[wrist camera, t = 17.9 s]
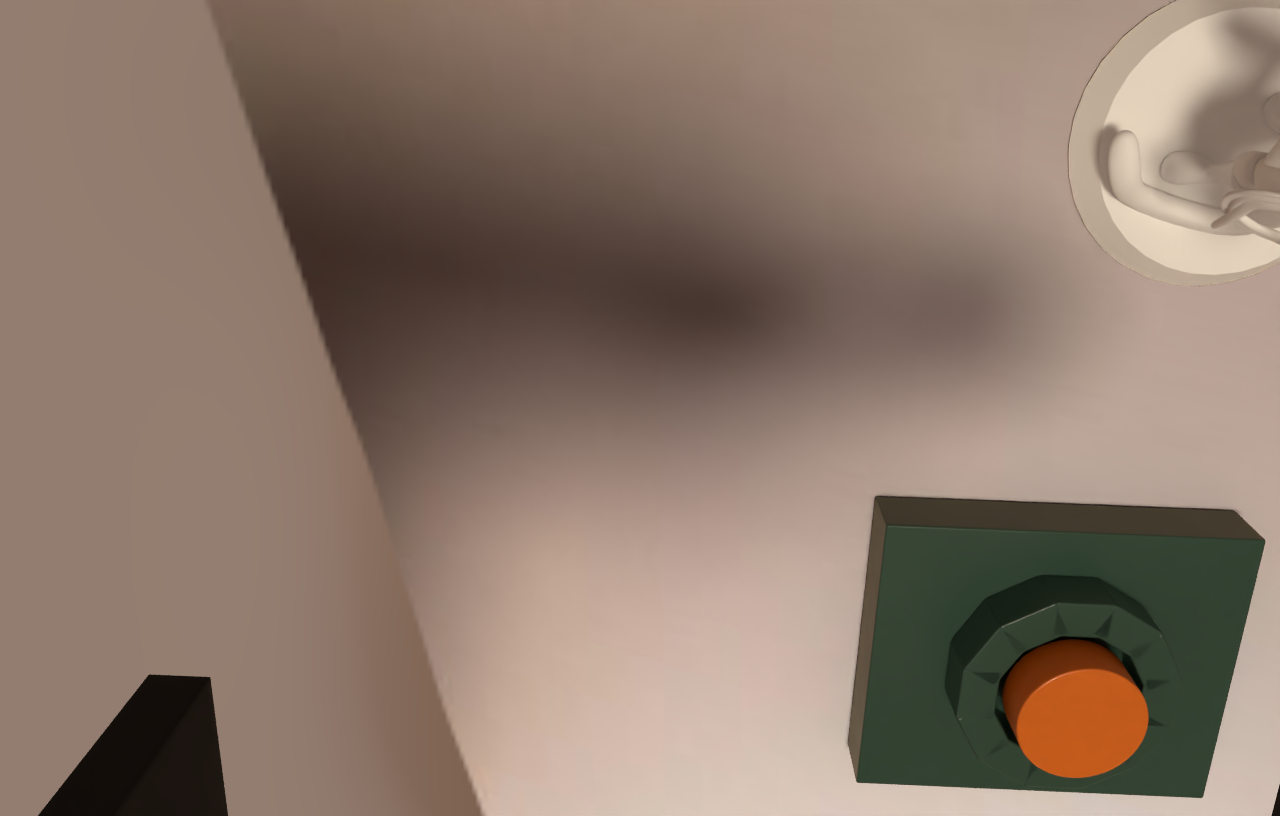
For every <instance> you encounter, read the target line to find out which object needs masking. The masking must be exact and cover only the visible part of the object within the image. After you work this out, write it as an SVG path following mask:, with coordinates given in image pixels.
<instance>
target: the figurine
mask: <svg viewBox="0 0 1280 816" xmlns="http://www.w3.org/2000/svg"><path fill="white" fill-rule="evenodd" d="M1069 179H1070V184H1071V188H1072V193H1073V198H1074V202H1075V205H1076V207H1077V209H1078V211H1079V214H1080V216H1081V218H1082V220H1083V222H1084V224H1085V227H1086V228H1087V230H1088V231H1089V232H1090V233H1091V235H1092V236H1093V237H1094V239H1095V240H1096V241H1097V243H1098V244H1099V245H1100V247H1101V248H1102V249H1103V250H1104V251H1106V252H1107V253H1108V254H1109V255H1110V256H1112V257H1113V258H1114V259H1115V260H1116V261H1118V262H1119V263H1120V264H1121V265H1123V266H1125V267H1127V268H1129V269H1131V270H1133V271H1134V272H1136V273H1138V274H1140V275H1142V276H1144V277H1147V278H1150V279H1154V280H1158V281H1161V282H1165V283H1169V284H1175V285H1190V286H1204V285H1213V284H1221V283H1228V282H1232V281H1235V280H1238V279H1241V278H1245V277H1248V276H1251V275H1255V274H1257V273H1259V272H1261V271H1263V270H1265V269H1267V268H1269V267H1271V266H1273V265H1275V264H1277V263H1279V262H1280V0H1176V1H1174V2H1172V3H1170V4H1169V5H1167V6H1165V7H1163V8H1162V9H1160V10H1158V11H1156V12H1154V13H1153V14H1151V15H1149V16H1148V17H1147V18H1145V19H1144V20H1143V21H1142V22H1140V23H1139V24H1138V25H1137V26H1136V27H1134V28H1133V29H1132V30H1131V31H1129V32H1128V33H1127V34H1126V35H1124V36H1123V37H1122V39H1121V40H1120V41H1119V42H1118V43H1117V44H1116V45H1115V47H1114V48H1113V49H1112V50H1111V51H1110V52H1109V53H1108V55H1107V56H1106V57H1105V58H1104V59H1103V60H1102V62H1101V63H1100V65H1099V67H1098V68H1097V70H1096V72H1095V73H1094V75H1093V77H1092V78H1091V80H1090V82H1089V83H1088V85H1087V86H1086V88H1085V90H1084V93H1083V96H1082V98H1081V101H1080V103H1079V106H1078V109H1077V111H1076V114H1075V116H1074V120H1073V126H1072V131H1071V136H1070V142H1069Z"/></svg>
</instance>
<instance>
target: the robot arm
mask: <svg viewBox="0 0 1280 816" xmlns="http://www.w3.org/2000/svg"><path fill="white" fill-rule="evenodd" d="M38 816H228V812H227V804H226V797H225V789H224V781H223V773H222V765H221V758H220V750H219V743H218V735H217V727H216V718H215V711H214V704H213V695H212V688H211V679H210V677H194V676H170V675H148V677H147V678H146V679H145V680H144V682H143V683H142V684H141V685H140V687H139V688H138V689H137V691H136V692H135V693H134V694H133V696H132V697H131V698H130V699H129V701H128V702H127V703H126V705H125V706H124V707H123V709H122V710H121V711H120V712H119V713H118V715H117V716H116V717H115V718H114V720H113V721H112V722H111V724H110V725H109V726H108V727H107V729H106V730H105V731H104V733H103V734H102V735H101V736H100V738H99V739H98V740H97V741H96V743H95V744H94V745H93V746H92V748H91V749H90V750H89V752H88V753H87V754H86V755H85V757H84V758H83V759H82V760H81V762H80V763H79V764H78V766H77V767H76V768H75V769H74V771H73V772H72V773H71V774H70V776H69V777H68V778H67V780H66V781H65V782H64V783H63V785H62V786H61V787H60V788H59V790H58V791H57V792H56V794H55V795H54V796H53V797H52V799H51V800H50V801H49V802H48V804H47V805H46V806H45V807H44V809H43V810H42V811H41V813H40V814H39V815H38ZM1272 816H1280V785H1279V789H1278V793H1277V797H1276V801H1275V805H1274V809H1273V813H1272Z"/></svg>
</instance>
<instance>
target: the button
mask: <svg viewBox="0 0 1280 816" xmlns="http://www.w3.org/2000/svg"><path fill="white" fill-rule="evenodd" d="M1002 700H1003V708H1004V712H1005V714H1006V717H1007V719H1008V721H1009V723H1010V726H1011V728H1012V730H1013V732H1014V735H1015V737H1016V739H1017V741H1018V744H1019V746H1020V748H1021V750H1022V751H1023V753H1024V755H1025V756H1026V757H1027V758H1028V759H1029V760H1030V761H1031V762H1032V763H1033V764H1034V765H1036V766H1037V767H1039V768H1040V769H1042V770H1044V771H1046V772H1048V773H1050V774H1053V775H1056V776H1061V777H1068V778H1084V777H1091V776H1095V775H1099V774H1102V773H1105V772H1107V771H1110V770H1112V769H1114V768H1116V767H1117V766H1119V765H1121V764H1122V763H1123V762H1125V761H1126V760H1127V759H1128V758H1129V757H1130V756H1131V755H1133V753H1134V752H1135V751H1136V750H1137V749H1138V747H1139V746H1140V744H1141V743H1142V741H1143V739H1144V737H1145V734H1146V731H1147V727H1148V720H1149V718H1148V707H1147V704H1146V701H1145V698H1144V696H1143V695H1142V693H1141V691H1140V690H1139V688H1138V687H1137V685H1136V684H1135V682H1134V681H1133V679H1132V677H1131V676H1130V674H1129V673H1128V671H1127V670H1126V668H1125V667H1124V665H1123V664H1122V662H1121V661H1120V660H1119V658H1118V657H1117V656H1116V655H1115V654H1114V653H1112V652H1111V651H1110V650H1108V649H1107V648H1105V647H1103V646H1101V645H1099V644H1096V643H1093V642H1090V641H1085V640H1078V639H1065V640H1058V641H1054V642H1050V643H1047V644H1044V645H1042V646H1039V647H1037V648H1035V649H1034V650H1032V651H1030V652H1029V653H1027V654H1026V655H1025V656H1024V657H1022V658H1021V659H1020V660H1019V661H1018V662H1017V663H1016V664H1015V666H1014V667H1013V668H1012V670H1011V671H1010V673H1009V675H1008V677H1007V679H1006V682H1005V684H1004V689H1003V696H1002Z"/></svg>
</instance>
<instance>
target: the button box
mask: <svg viewBox="0 0 1280 816" xmlns="http://www.w3.org/2000/svg"><path fill="white" fill-rule="evenodd" d="M1264 545H1265V539H1264V538H1262V537H1261V536H1260V535H1259V534H1258V533H1257V532H1256V531H1255V530H1254V529H1253V528H1252V527H1251V526H1250V525H1249V524H1248V523H1247V522H1246V521H1245V520H1244V519H1243V518H1242V517H1241V516H1240V515H1238V514H1237V513H1236V512H1235V511H1221V510H1196V509H1171V508H1146V507H1121V506H1096V505H1071V504H1046V503H1021V502H996V501H971V500H946V499H921V498H896V497H876V498H875V506H874V515H873V524H872V533H871V542H870V551H869V560H868V569H867V578H866V587H865V596H864V605H863V614H862V623H861V632H860V641H859V650H858V659H857V668H856V677H855V686H854V695H853V704H852V713H851V722H850V731H849V740H848V746H849V750H850V755H851V759H852V764H853V768H854V773H855V777H856V781H857V782H858V783H877V784H899V785H922V786H944V787H967V788H989V789H1012V790H1034V791H1056V792H1079V793H1101V794H1124V795H1146V796H1169V797H1191V798H1202V797H1203V795H1204V791H1205V786H1206V782H1207V778H1208V774H1209V770H1210V766H1211V762H1212V758H1213V754H1214V750H1215V746H1216V742H1217V737H1218V733H1219V729H1220V725H1221V721H1222V717H1223V713H1224V709H1225V705H1226V701H1227V697H1228V692H1229V688H1230V684H1231V680H1232V676H1233V672H1234V668H1235V664H1236V660H1237V656H1238V652H1239V647H1240V643H1241V639H1242V635H1243V631H1244V627H1245V623H1246V619H1247V615H1248V611H1249V607H1250V602H1251V598H1252V594H1253V590H1254V586H1255V582H1256V578H1257V574H1258V570H1259V566H1260V562H1261V557H1262V553H1263V549H1264ZM1065 639H1078V640H1085V641H1090V642H1093V643H1096V644H1099V645H1101V646H1103V647H1105V648H1107V649H1108V650H1110V651H1111V652H1112V653H1114V654H1115V655H1116V656H1117V657H1118V658H1119V660H1120V661H1121V662H1122V664H1123V665H1124V667H1125V668H1126V670H1127V671H1128V673H1129V674H1130V676H1131V677H1132V679H1133V681H1134V682H1135V684H1136V685H1137V687H1138V688H1139V690H1140V691H1141V693H1142V695H1143V696H1144V698H1145V701H1146V704H1147V707H1148V718H1149V720H1148V727H1147V731H1146V734H1145V737H1144V739H1143V741H1142V743H1141V744H1140V746H1139V747H1138V749H1137V750H1136V751H1135V752H1134V753H1133V755H1131V756H1130V757H1129V758H1128V759H1127V760H1126V761H1125V762H1123V763H1122V764H1121V765H1119V766H1117V767H1116V768H1114V769H1112V770H1110V771H1107V772H1105V773H1102V774H1099V775H1095V776H1091V777H1084V778H1068V777H1061V776H1056V775H1053V774H1050V773H1048V772H1046V771H1044V770H1042V769H1040V768H1039V767H1037V766H1036V765H1034V764H1033V763H1032V762H1031V761H1030V760H1029V759H1028V758H1027V757H1026V756H1025V755H1024V753H1023V751H1022V750H1021V748H1020V746H1019V744H1018V741H1017V739H1016V737H1015V735H1014V732H1013V730H1012V728H1011V726H1010V723H1009V721H1008V719H1007V717H1006V714H1005V712H1004V708H1003V700H1002V696H1003V689H1004V684H1005V682H1006V679H1007V677H1008V675H1009V673H1010V671H1011V670H1012V668H1013V667H1014V666H1015V664H1016V663H1017V662H1018V661H1019V660H1020V659H1021V658H1022V657H1024V656H1025V655H1026V654H1027V653H1029V652H1030V651H1032V650H1034V649H1035V648H1037V647H1039V646H1042V645H1044V644H1047V643H1050V642H1054V641H1058V640H1065Z"/></svg>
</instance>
